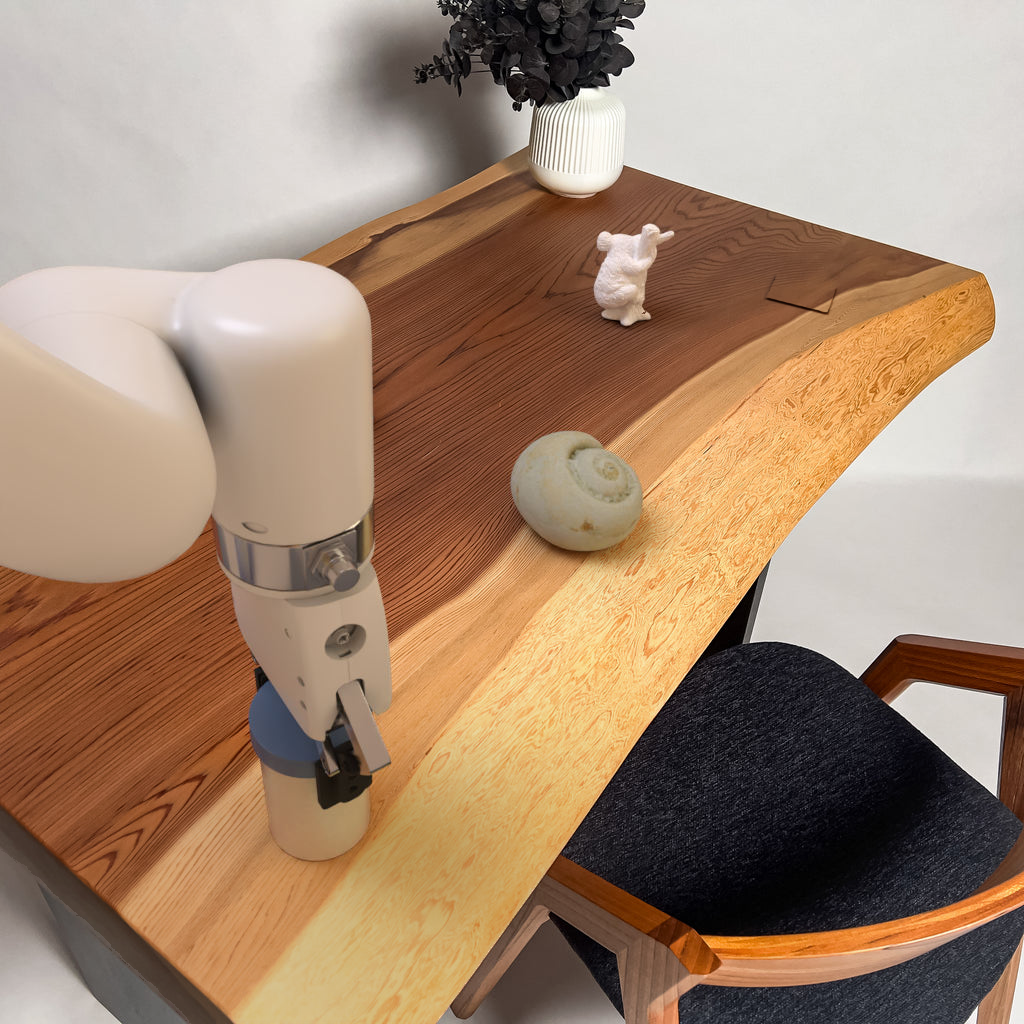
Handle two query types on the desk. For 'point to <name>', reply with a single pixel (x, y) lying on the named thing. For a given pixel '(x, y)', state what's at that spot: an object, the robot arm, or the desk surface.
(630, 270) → the koala figurine
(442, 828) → the desk surface
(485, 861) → the desk surface
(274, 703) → the jar lid
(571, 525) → the seashell
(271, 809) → the jar
